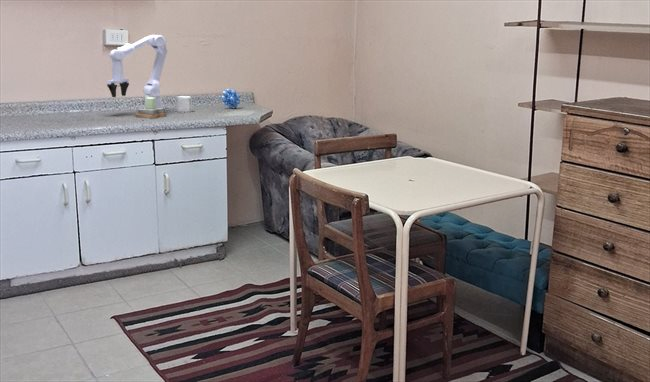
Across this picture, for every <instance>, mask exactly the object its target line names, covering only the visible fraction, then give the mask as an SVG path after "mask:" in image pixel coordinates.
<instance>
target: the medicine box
mask: <svg viewBox="0 0 650 382" xmlns="http://www.w3.org/2000/svg"><path fill="white" fill-rule="evenodd" d="M175 101H176V112H178V113H179V112H183V113H184V112H185V113H190V112H192V111H193V107H192V106H193V105H192V96H188V95H179V96H176V100H175Z"/></svg>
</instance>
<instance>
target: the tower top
mask: <svg viewBox="0 0 650 382" xmlns="http://www.w3.org/2000/svg"><path fill="white" fill-rule="evenodd" d="M161 113H165V108H157V109H153V110H152V109H145V107H144V108H138V109H137V114H146V115H155V114H161Z"/></svg>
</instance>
